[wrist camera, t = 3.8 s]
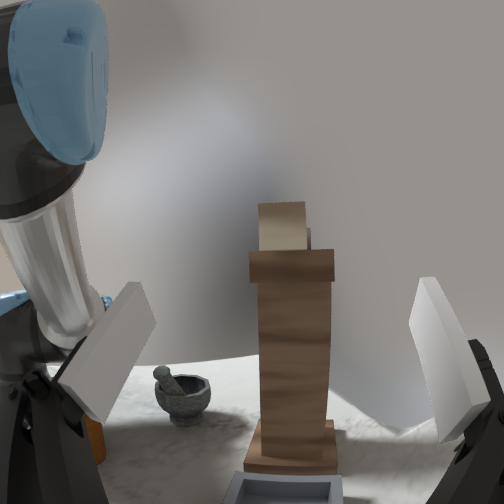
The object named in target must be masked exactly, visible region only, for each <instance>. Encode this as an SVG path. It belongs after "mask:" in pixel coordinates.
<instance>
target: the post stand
mask: <svg viewBox="0 0 504 504" xmlns="http://www.w3.org/2000/svg"><path fill="white" fill-rule="evenodd" d="M249 269H250V283H257V291H258V330H259V372H260V415H261V419H259V420H258V423H257V426H256V429H255V432H254V435H253V438H252V441H251V443H250V446H249V449H248V452H247V455H246V457H245V460H244V463H243V464H244V472H247V473H258V474H271V475H295V476H320V475H336V471H337V466H338V465H337V453H336V442H335V431H334V421H333V420H326V412H327V399H328V385H329V367H330V342H331V282H332V281H335V279H334V278H335V277H334V249H322V250H288V251H256V252H249Z"/></svg>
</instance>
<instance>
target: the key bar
mask: <svg viewBox="0 0 504 504" xmlns="http://www.w3.org/2000/svg"><path fill="white" fill-rule="evenodd" d="M258 214H259V248H260V250H262V251H288V250H311V236H310V228H307V226H306V210H305V202H282V203H264V204H258Z"/></svg>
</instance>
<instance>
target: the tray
mask: <svg viewBox="0 0 504 504" xmlns="http://www.w3.org/2000/svg"><path fill="white" fill-rule="evenodd" d="M222 504H344V503H343V489H342V476H341V475H320V476H295V475H271V474H258V473H247V472H238V471H235V474H234V476H233V479H232V481H231V484H230V486H229V489H228V491H227V493H226V496H225V498H224V500H223V503H222Z"/></svg>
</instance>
